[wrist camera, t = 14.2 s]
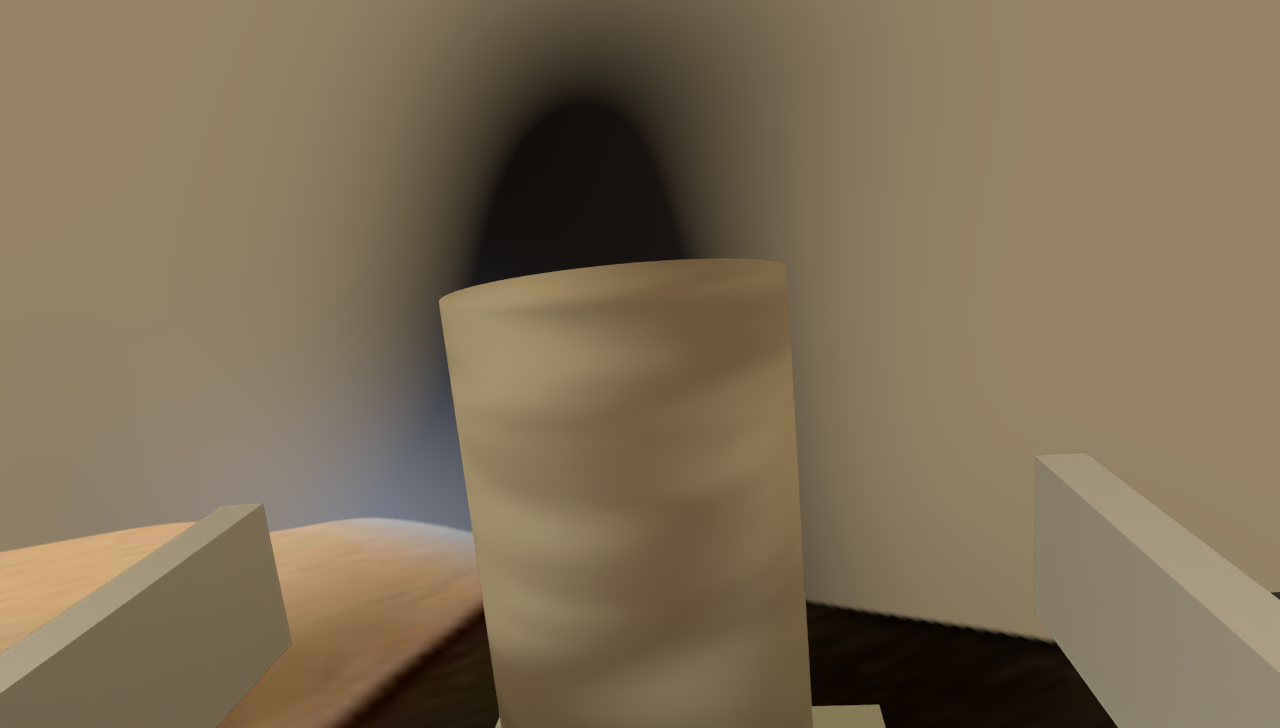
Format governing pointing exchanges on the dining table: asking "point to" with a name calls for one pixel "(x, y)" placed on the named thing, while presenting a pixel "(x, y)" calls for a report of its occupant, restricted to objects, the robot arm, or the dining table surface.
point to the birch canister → (635, 493)
